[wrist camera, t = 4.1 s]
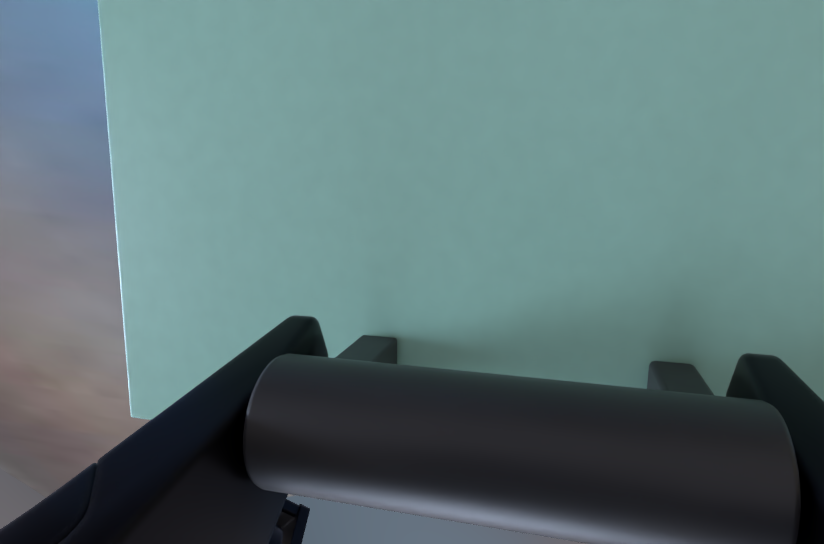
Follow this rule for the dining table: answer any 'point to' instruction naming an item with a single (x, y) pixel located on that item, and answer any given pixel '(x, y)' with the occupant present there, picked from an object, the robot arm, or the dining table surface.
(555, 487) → the lunchbox lid
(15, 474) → the dining table surface
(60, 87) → the dining table surface
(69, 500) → the robot arm
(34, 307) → the dining table surface
